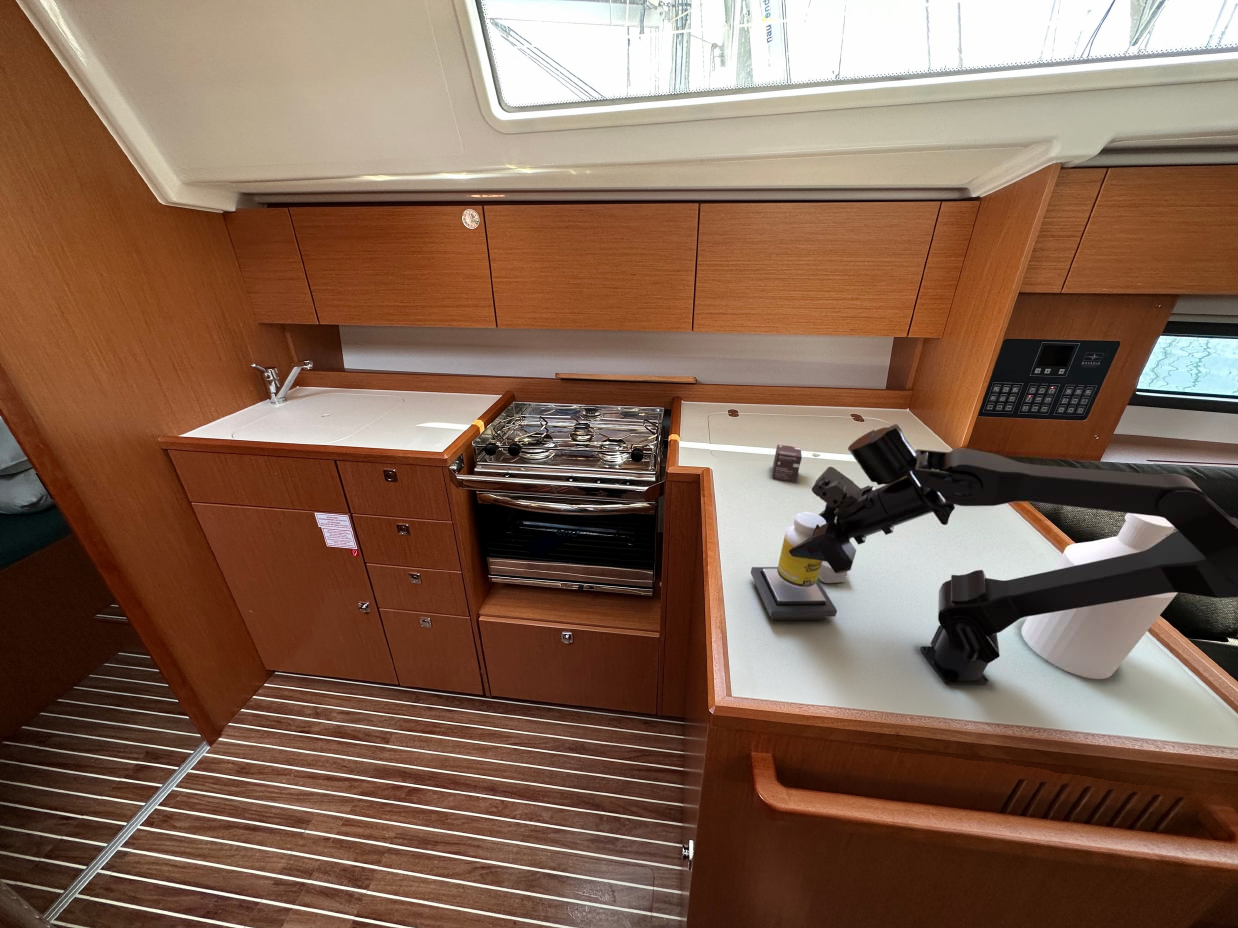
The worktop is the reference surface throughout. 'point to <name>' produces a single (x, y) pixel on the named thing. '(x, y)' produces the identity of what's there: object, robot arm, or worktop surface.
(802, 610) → the scale
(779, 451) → the box
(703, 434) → the worktop surface
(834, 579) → the pale grey rock
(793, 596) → the pan
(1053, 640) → the bottle
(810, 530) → the pill bottle
